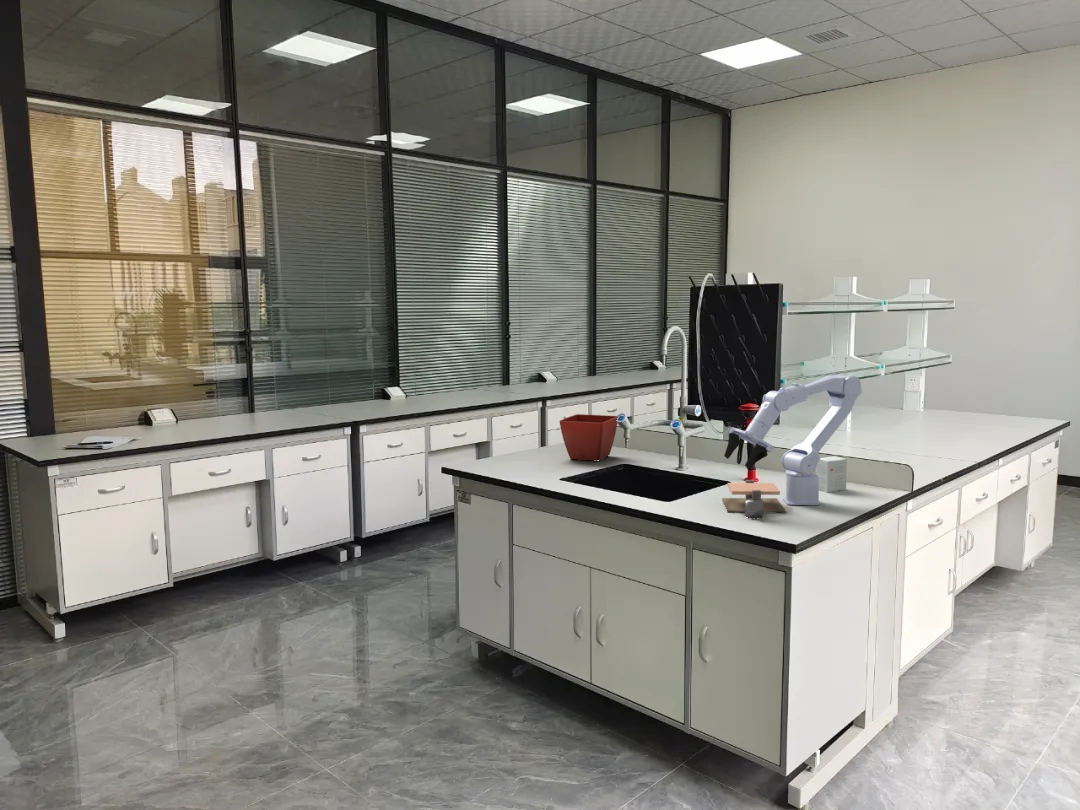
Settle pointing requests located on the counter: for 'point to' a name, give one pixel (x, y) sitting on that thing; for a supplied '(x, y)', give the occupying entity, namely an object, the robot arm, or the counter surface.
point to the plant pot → (588, 435)
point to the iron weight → (754, 508)
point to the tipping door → (753, 488)
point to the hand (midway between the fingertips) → (736, 462)
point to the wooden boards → (739, 503)
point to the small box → (831, 473)
